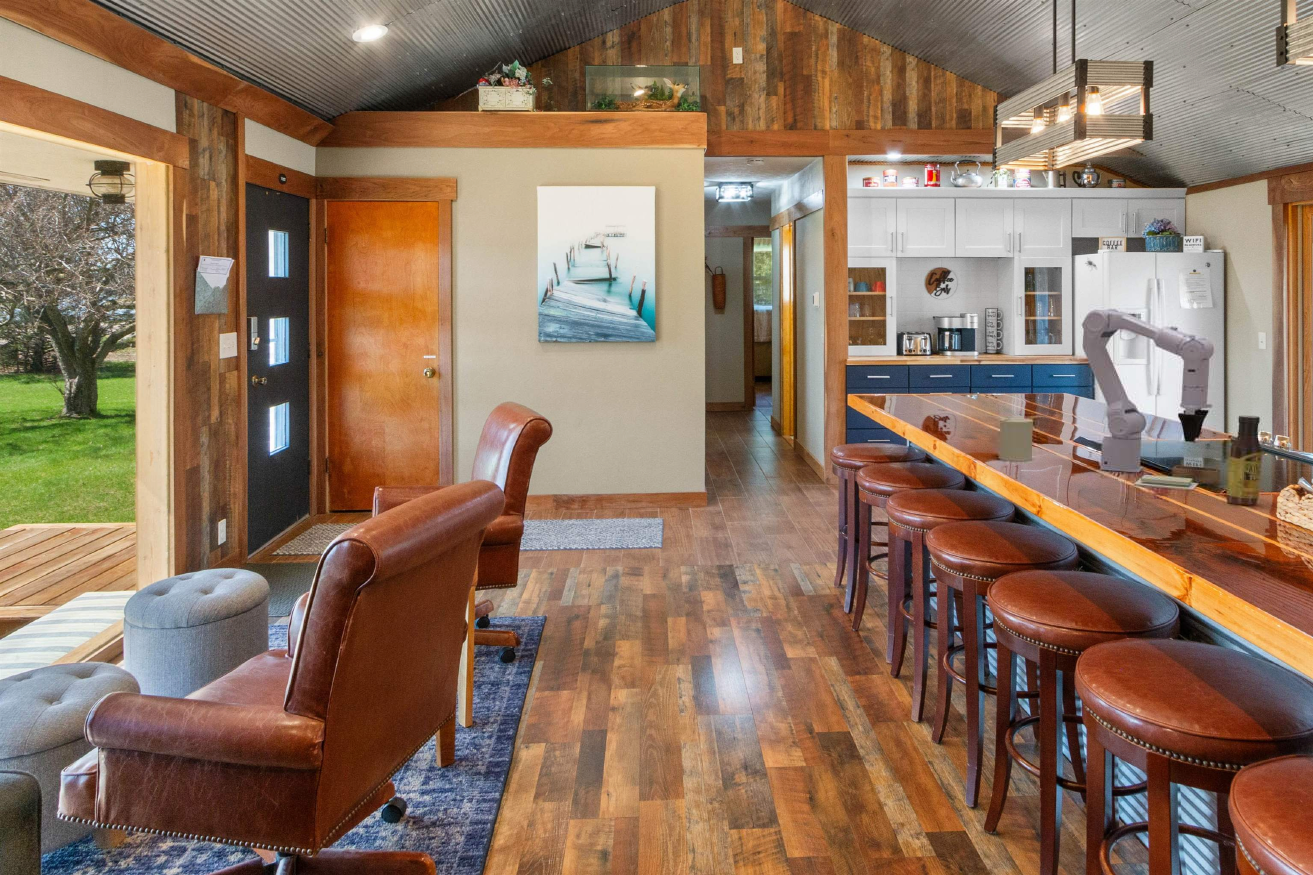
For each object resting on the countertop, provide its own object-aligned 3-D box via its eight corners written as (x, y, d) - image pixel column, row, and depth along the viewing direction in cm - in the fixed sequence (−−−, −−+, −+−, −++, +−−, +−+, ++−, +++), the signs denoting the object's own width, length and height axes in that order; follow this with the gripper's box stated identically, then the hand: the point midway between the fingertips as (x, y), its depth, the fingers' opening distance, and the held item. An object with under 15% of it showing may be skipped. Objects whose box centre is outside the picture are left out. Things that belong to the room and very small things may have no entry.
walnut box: (1171, 481, 241) (1172, 468, 241) (1174, 478, 245) (1175, 465, 245) (1216, 485, 235) (1217, 471, 235) (1219, 482, 239) (1220, 468, 239)
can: (995, 456, 284) (996, 416, 283) (1027, 456, 284) (1028, 416, 282) (1003, 461, 275) (1004, 420, 274) (1036, 461, 274) (1037, 420, 273)
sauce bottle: (1245, 507, 211) (1251, 418, 209) (1219, 502, 217) (1224, 415, 214) (1265, 504, 214) (1271, 416, 211) (1238, 499, 220) (1244, 413, 217)
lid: (1140, 483, 238) (1140, 478, 238) (1144, 479, 243) (1145, 474, 242) (1188, 487, 232) (1189, 482, 232) (1192, 483, 236) (1192, 478, 236)
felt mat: (1133, 485, 238) (1133, 483, 238) (1140, 479, 245) (1140, 478, 245) (1193, 490, 230) (1193, 489, 230) (1198, 484, 237) (1198, 483, 237)
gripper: (1209, 389, 235) (1206, 444, 237) (1216, 384, 246) (1213, 436, 248) (1177, 388, 239) (1174, 442, 241) (1185, 383, 250) (1182, 435, 252)
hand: (1191, 439), depth 245 cm, fingers open, 7 cm apart
